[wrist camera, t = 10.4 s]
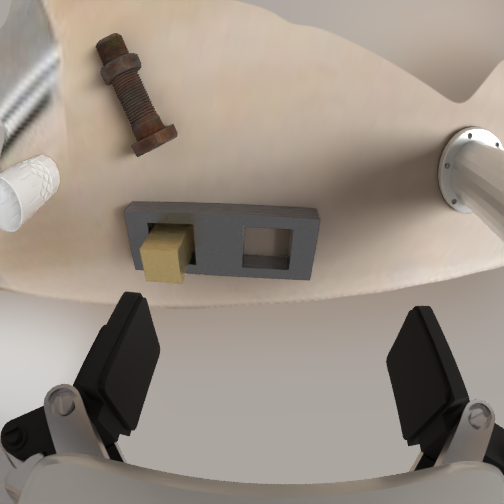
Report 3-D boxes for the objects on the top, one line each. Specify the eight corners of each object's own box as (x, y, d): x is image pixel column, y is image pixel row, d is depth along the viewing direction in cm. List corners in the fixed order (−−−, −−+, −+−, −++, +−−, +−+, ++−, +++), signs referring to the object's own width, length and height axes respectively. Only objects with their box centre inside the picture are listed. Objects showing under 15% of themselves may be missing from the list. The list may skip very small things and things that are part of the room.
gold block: (192, 217, 39) (177, 251, 33) (195, 246, 42) (181, 283, 35) (160, 216, 39) (139, 249, 33) (164, 245, 42) (146, 280, 35)
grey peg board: (316, 208, 38) (320, 219, 35) (307, 267, 43) (309, 280, 40) (132, 201, 38) (124, 211, 36) (142, 257, 43) (135, 269, 41)
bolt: (126, 38, 28) (172, 137, 35) (89, 56, 27) (136, 157, 34) (129, 20, 23) (181, 135, 30) (85, 40, 22) (138, 157, 29)
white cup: (64, 203, 39) (26, 237, 30) (28, 195, 38) (-11, 226, 30) (63, 152, 34) (18, 180, 26) (25, 148, 34) (-20, 173, 25)
